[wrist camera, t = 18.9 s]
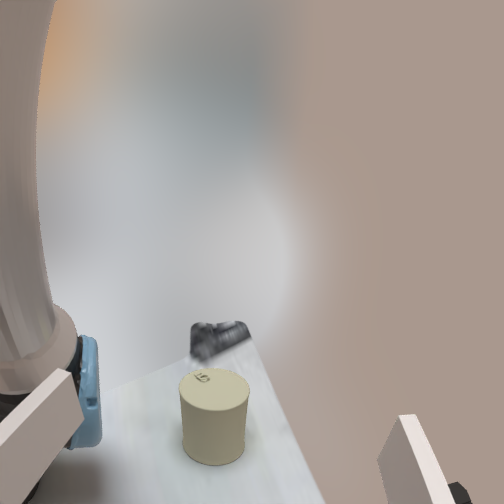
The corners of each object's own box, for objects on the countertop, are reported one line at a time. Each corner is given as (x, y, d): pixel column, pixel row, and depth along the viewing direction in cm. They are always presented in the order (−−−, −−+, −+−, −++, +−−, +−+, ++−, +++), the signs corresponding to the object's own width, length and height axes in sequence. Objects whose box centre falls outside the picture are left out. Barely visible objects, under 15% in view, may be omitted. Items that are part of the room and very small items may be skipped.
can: (217, 416, 46) (218, 358, 43) (257, 446, 40) (265, 388, 37) (170, 438, 39) (164, 378, 37) (209, 475, 33) (208, 418, 31)
